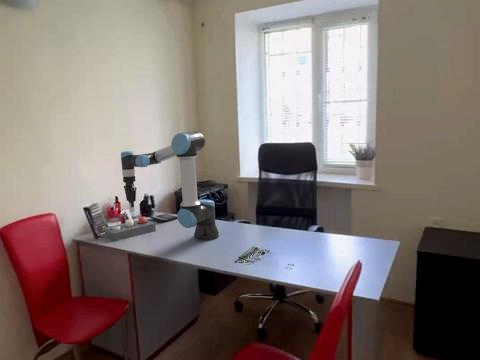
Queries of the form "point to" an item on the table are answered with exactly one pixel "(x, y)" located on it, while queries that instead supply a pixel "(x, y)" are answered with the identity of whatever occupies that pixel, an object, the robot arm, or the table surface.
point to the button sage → (115, 228)
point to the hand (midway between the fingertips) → (132, 211)
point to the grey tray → (129, 230)
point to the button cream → (129, 223)
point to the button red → (142, 220)
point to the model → (250, 252)
